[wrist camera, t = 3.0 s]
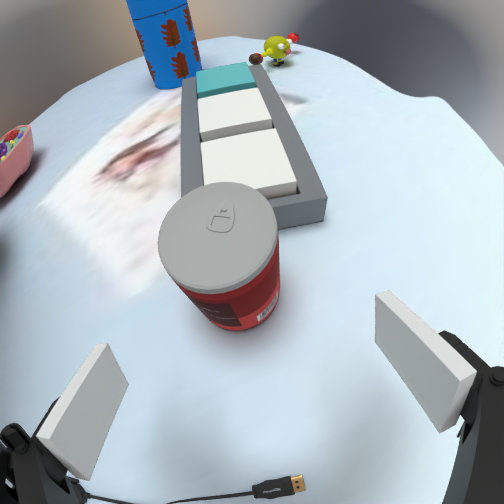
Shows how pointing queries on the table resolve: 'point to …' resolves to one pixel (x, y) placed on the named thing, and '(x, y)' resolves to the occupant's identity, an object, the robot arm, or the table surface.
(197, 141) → the keypad frame
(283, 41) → the toy figure
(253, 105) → the key middle
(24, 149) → the cell model
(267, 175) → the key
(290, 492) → the cable
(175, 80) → the thermos
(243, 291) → the canned food
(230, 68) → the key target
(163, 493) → the table surface
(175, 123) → the table surface
